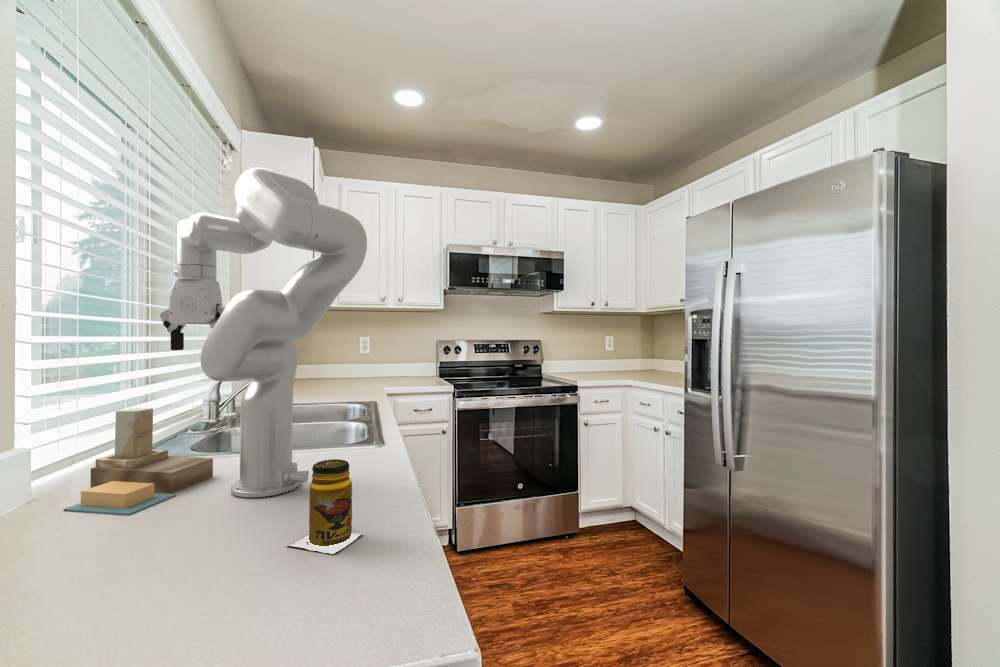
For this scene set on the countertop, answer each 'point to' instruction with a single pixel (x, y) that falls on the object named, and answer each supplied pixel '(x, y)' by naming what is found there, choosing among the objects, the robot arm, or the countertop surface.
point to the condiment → (330, 503)
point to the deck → (153, 471)
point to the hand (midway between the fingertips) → (197, 349)
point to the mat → (122, 511)
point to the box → (133, 433)
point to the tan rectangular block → (117, 494)
